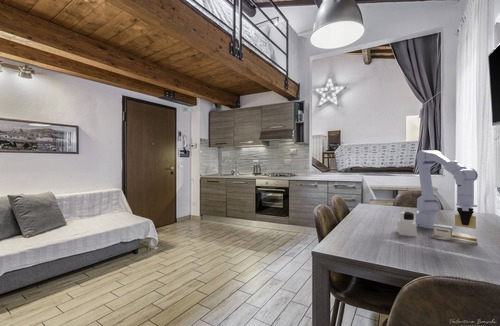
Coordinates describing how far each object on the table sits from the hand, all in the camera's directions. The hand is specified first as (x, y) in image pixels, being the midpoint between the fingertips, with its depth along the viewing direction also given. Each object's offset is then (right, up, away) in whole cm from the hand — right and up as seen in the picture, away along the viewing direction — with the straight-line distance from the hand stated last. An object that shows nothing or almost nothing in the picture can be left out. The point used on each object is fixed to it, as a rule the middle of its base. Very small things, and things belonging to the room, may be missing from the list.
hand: (465, 224), depth 107 cm
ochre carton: (0, -1, 0) cm, 1 cm away
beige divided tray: (0, -9, +6) cm, 11 cm away
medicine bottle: (-20, -9, +11) cm, 24 cm away
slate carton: (-6, -8, +5) cm, 11 cm away
